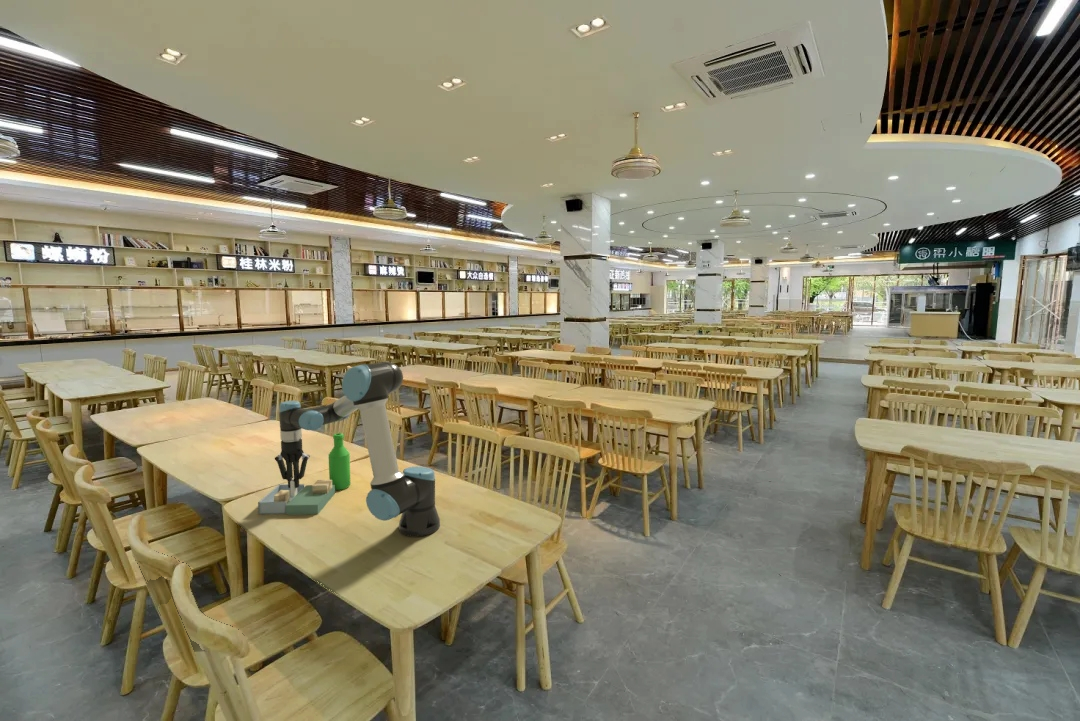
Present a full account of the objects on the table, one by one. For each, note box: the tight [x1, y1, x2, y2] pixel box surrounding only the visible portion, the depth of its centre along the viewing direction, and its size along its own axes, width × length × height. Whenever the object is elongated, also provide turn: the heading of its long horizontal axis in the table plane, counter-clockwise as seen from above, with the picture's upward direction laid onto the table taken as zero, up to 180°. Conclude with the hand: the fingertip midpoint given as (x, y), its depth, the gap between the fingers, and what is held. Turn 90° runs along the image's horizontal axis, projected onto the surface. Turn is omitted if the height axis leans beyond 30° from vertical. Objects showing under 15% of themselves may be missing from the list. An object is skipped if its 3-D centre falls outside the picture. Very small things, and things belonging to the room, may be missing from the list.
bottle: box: [328, 432, 351, 491], centre depth 210 cm, size 9×9×25 cm
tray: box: [257, 483, 305, 515], centre depth 192 cm, size 18×10×5 cm, turn 6°
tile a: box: [274, 490, 290, 504], centre depth 189 cm, size 6×6×4 cm
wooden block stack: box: [311, 479, 332, 493], centre depth 197 cm, size 6×6×4 cm
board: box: [286, 484, 336, 516], centre depth 194 cm, size 20×12×4 cm, turn 6°
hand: (294, 495), depth 189 cm, fingers closed
